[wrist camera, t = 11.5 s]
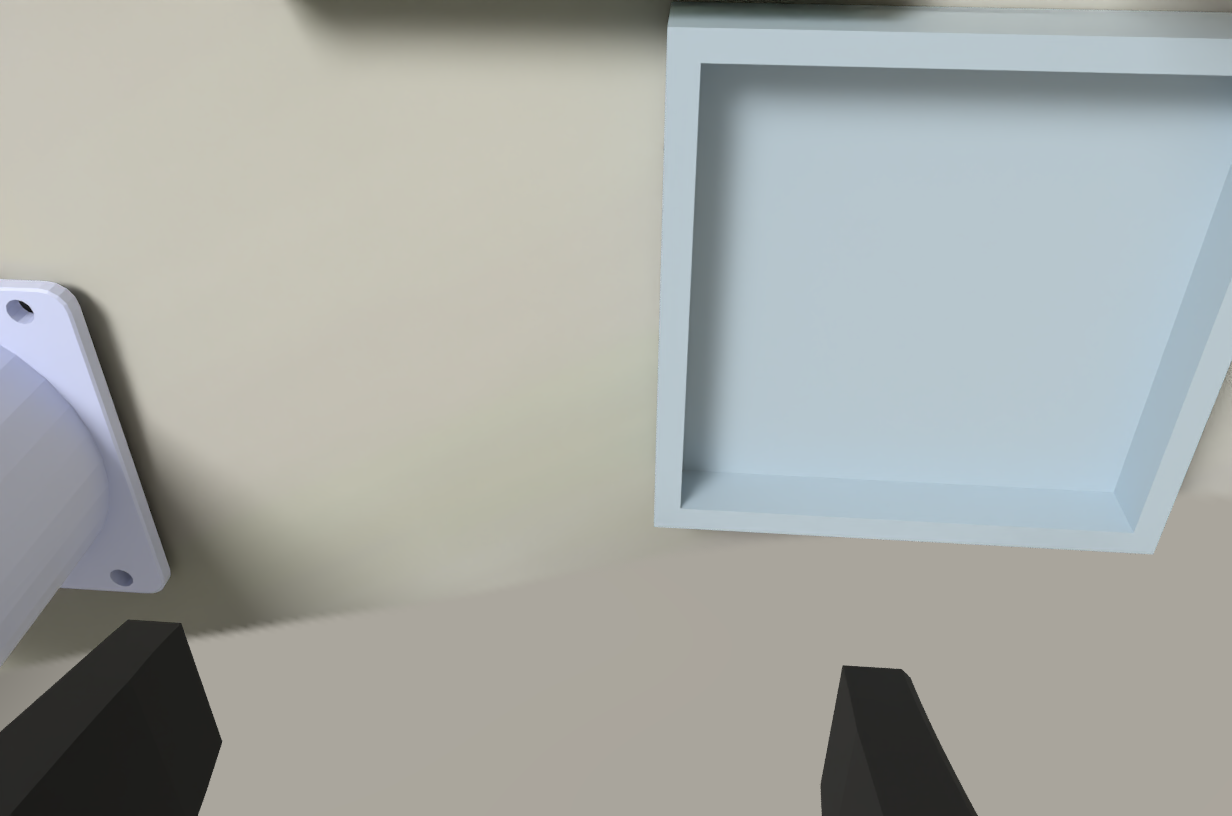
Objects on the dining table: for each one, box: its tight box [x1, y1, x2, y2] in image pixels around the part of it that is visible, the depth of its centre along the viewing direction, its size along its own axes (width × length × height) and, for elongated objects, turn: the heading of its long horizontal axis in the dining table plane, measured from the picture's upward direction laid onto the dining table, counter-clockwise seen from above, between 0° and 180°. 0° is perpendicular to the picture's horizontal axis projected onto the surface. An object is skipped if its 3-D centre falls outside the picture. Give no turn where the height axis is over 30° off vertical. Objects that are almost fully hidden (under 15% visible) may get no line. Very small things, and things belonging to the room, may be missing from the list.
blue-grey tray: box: [654, 2, 1232, 554], centre depth 18 cm, size 10×10×2 cm
